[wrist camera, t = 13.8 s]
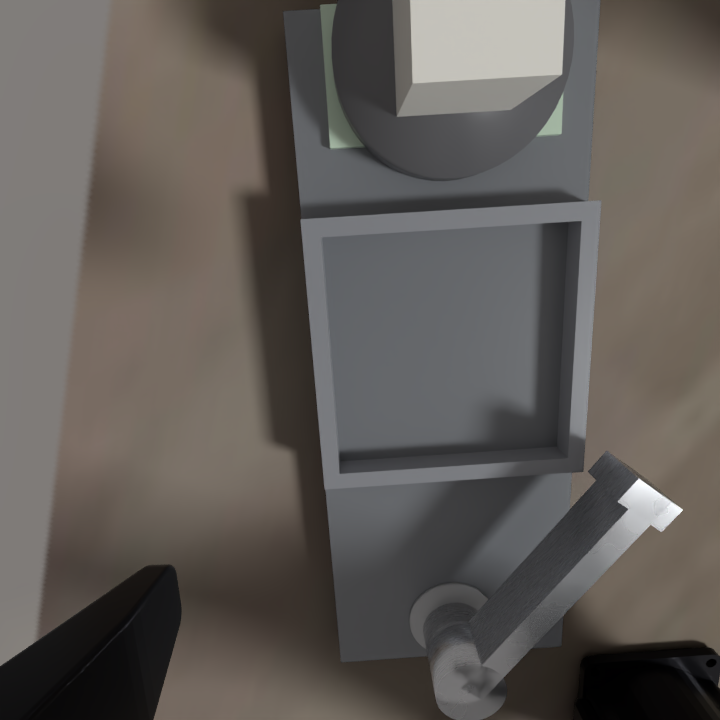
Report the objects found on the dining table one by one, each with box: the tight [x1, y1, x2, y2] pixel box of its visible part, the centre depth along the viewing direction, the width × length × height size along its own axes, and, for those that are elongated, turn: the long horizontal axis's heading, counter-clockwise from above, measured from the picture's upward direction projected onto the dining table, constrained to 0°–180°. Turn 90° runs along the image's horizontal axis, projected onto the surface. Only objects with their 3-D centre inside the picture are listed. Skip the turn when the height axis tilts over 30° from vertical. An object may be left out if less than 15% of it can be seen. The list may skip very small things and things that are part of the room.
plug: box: [331, 0, 574, 181], centre depth 13 cm, size 7×7×5 cm
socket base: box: [283, 0, 601, 662], centre depth 19 cm, size 10×25×2 cm, turn 3°
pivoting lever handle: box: [423, 451, 683, 720], centre depth 18 cm, size 3×11×3 cm, turn 145°
